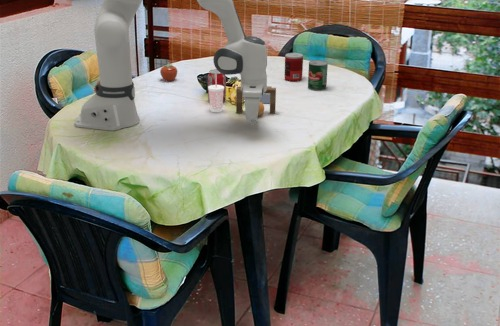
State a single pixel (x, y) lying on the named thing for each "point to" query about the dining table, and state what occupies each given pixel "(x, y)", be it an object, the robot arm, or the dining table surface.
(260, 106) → the ball
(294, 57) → the canned food
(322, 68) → the canned tomato
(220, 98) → the beverage cup
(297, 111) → the dining table surface
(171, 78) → the tomato
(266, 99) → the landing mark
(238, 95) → the bridge
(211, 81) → the soda can
